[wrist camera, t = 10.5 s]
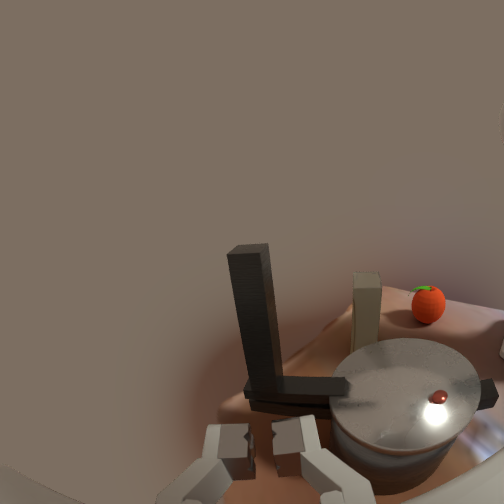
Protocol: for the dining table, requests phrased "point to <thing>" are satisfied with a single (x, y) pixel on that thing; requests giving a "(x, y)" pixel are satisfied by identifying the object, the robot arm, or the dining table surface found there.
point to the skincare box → (365, 309)
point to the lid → (357, 374)
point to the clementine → (428, 304)
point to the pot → (371, 462)
